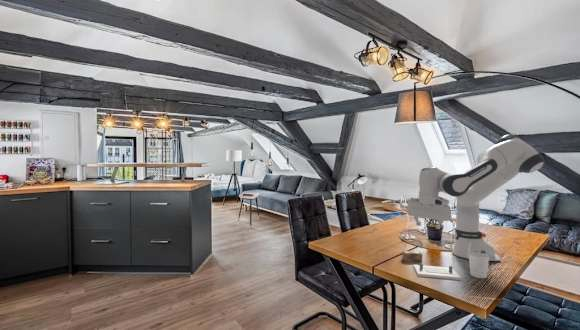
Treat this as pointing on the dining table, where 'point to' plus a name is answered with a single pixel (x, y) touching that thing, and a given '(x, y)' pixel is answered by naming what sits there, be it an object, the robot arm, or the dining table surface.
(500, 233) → the dining table surface
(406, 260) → the walnut frame
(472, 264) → the pale white cylinder
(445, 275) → the wall panel
